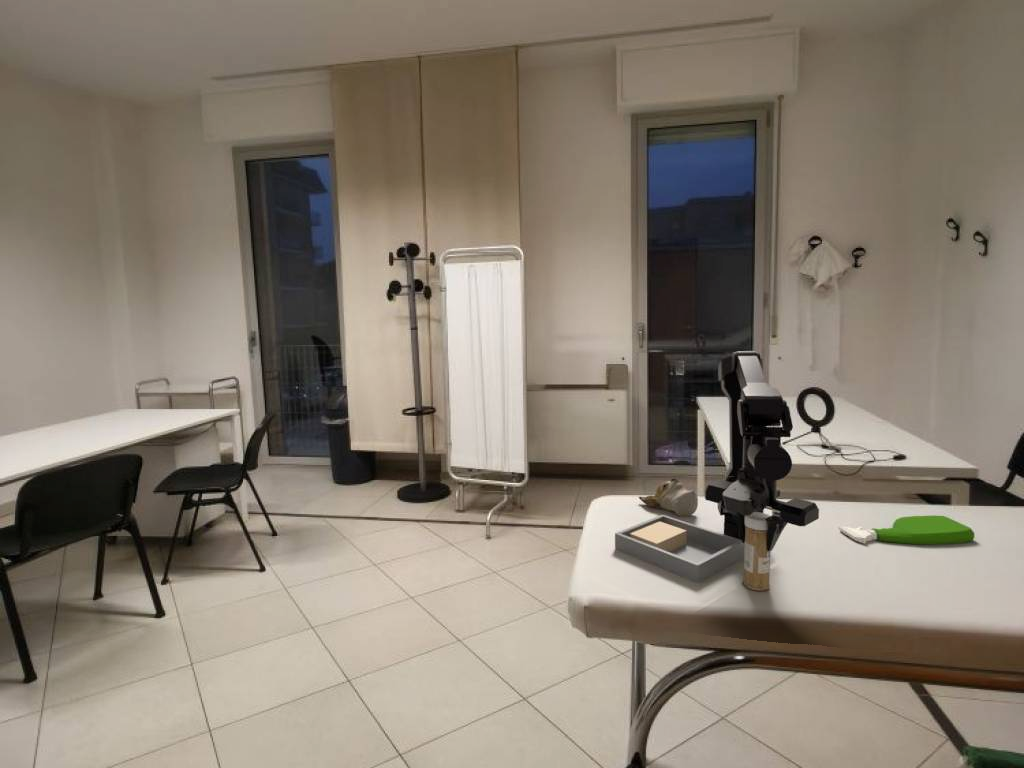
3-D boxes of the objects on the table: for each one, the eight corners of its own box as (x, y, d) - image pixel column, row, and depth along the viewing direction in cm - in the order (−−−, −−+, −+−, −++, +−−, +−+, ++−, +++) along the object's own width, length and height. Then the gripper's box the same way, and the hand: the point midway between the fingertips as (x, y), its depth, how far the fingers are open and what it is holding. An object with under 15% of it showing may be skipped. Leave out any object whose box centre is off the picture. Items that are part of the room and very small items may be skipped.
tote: (662, 531, 132) (662, 514, 132) (744, 560, 117) (744, 541, 116) (615, 551, 123) (614, 533, 122) (697, 585, 107) (697, 565, 106)
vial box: (659, 534, 129) (659, 521, 129) (686, 543, 124) (686, 530, 123) (630, 547, 123) (629, 533, 123) (656, 557, 118) (656, 543, 117)
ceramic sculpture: (676, 488, 135) (635, 475, 149) (677, 524, 136) (636, 508, 149) (710, 481, 140) (668, 469, 153) (711, 516, 140) (669, 501, 154)
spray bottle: (979, 545, 121) (864, 552, 120) (939, 525, 132) (833, 531, 131) (980, 531, 121) (865, 538, 120) (940, 512, 132) (834, 519, 131)
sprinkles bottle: (771, 593, 104) (773, 521, 102) (743, 590, 105) (745, 519, 103) (768, 581, 108) (770, 512, 106) (741, 578, 109) (743, 510, 107)
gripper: (687, 461, 106) (686, 543, 108) (789, 485, 91) (786, 579, 93) (722, 450, 112) (720, 527, 115) (822, 470, 98) (818, 558, 100)
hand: (757, 546), depth 105 cm, fingers closed on sprinkles bottle, 4 cm apart
